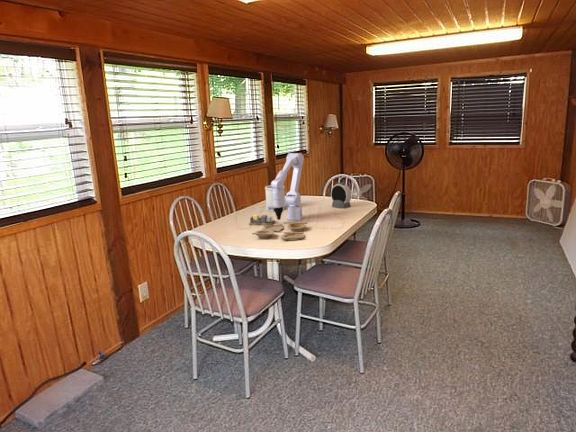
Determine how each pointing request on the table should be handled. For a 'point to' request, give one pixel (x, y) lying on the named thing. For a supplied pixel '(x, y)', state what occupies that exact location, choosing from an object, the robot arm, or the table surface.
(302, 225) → the tableware set
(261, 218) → the block
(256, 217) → the block
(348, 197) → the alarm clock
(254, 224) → the board
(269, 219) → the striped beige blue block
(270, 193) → the utensil holder
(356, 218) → the table surface
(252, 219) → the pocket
